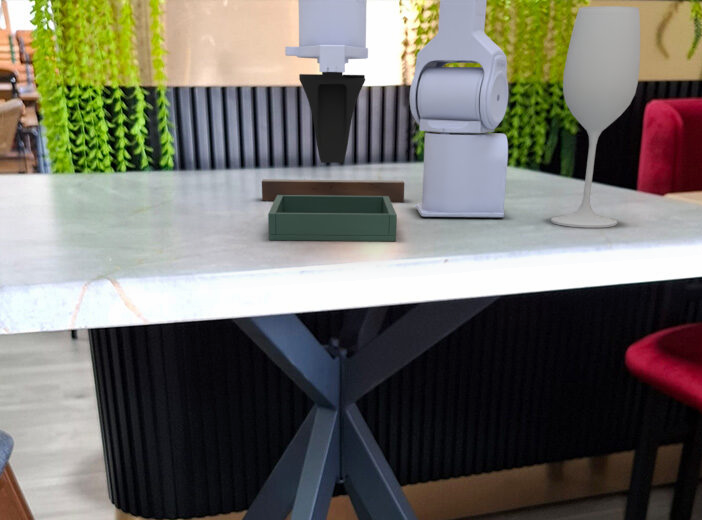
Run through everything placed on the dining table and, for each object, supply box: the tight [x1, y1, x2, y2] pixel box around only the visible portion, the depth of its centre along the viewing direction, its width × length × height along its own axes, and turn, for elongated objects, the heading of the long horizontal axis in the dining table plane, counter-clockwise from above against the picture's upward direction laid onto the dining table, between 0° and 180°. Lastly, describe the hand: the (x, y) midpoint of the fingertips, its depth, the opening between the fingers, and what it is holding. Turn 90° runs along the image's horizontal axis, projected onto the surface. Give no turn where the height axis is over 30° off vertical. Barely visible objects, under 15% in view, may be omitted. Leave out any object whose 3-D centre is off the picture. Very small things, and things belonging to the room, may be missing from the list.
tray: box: [267, 195, 398, 242], centre depth 93 cm, size 12×14×2 cm
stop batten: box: [261, 178, 405, 203], centre depth 114 cm, size 18×2×2 cm, turn 91°
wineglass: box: [550, 5, 641, 229], centre depth 95 cm, size 8×8×21 cm
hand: (332, 162), depth 80 cm, fingers closed
